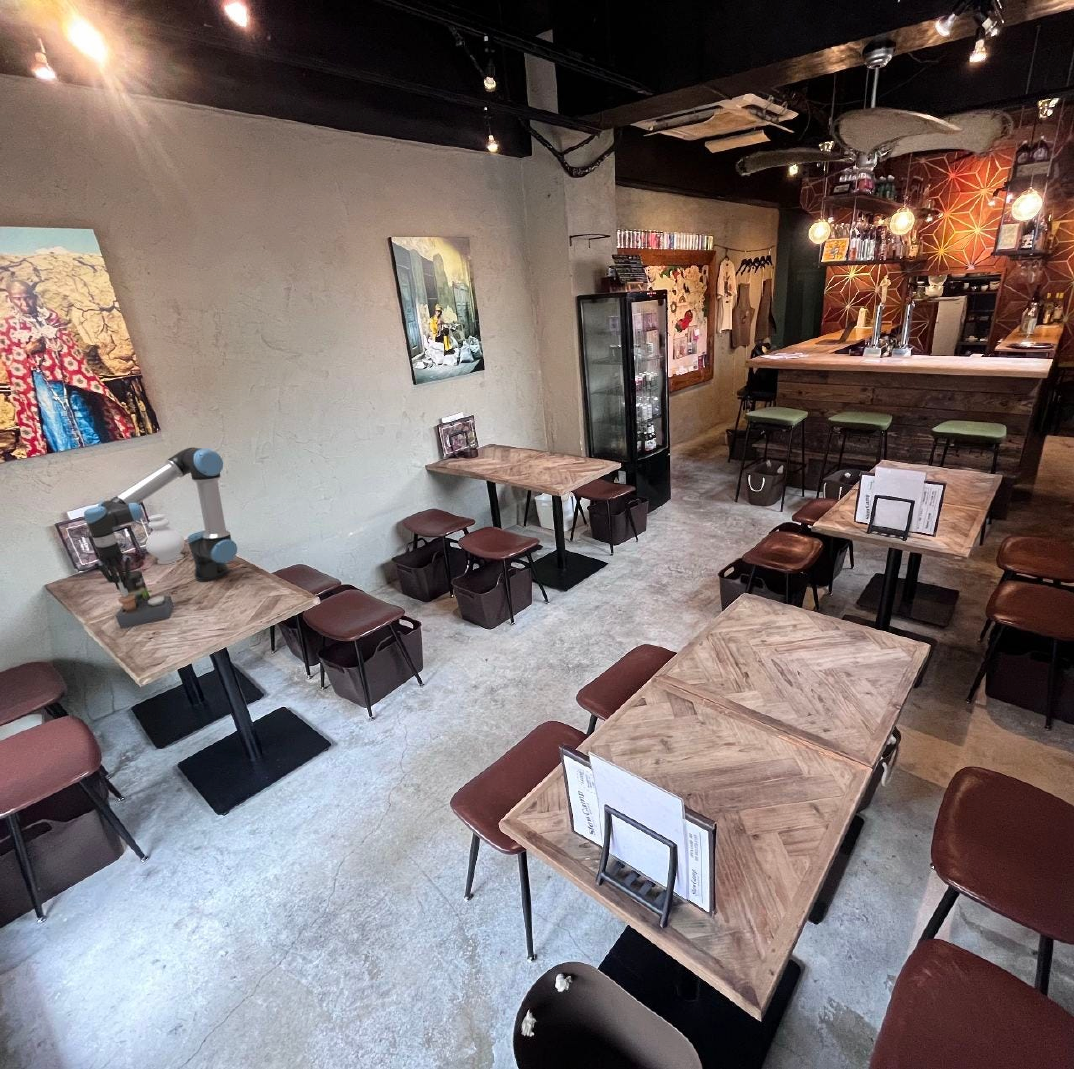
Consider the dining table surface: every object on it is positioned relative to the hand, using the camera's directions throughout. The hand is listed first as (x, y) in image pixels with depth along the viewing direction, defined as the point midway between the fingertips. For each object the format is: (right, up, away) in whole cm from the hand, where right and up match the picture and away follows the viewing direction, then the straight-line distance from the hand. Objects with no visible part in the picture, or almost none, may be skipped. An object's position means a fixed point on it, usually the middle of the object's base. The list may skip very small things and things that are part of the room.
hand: (125, 595), depth 245 cm
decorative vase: (-24, +12, +68) cm, 74 cm away
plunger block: (+6, -10, +6) cm, 13 cm away
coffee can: (-9, -6, +20) cm, 23 cm away
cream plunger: (+10, -8, +7) cm, 15 cm away
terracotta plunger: (+1, -7, +3) cm, 8 cm away
